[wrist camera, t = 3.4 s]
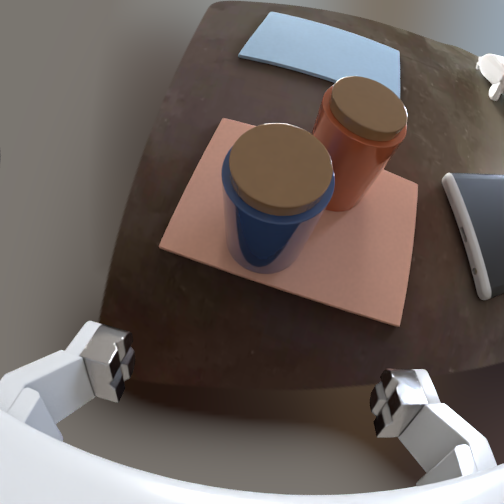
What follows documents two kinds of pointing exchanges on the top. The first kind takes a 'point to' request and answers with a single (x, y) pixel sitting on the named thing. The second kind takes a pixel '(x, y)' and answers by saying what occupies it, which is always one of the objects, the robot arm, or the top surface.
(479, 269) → the smartphone
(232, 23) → the top surface
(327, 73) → the blue mat
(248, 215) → the blue jar
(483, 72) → the white sheep figurine
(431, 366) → the top surface
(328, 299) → the clay mat
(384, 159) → the terracotta jar
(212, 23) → the top surface
